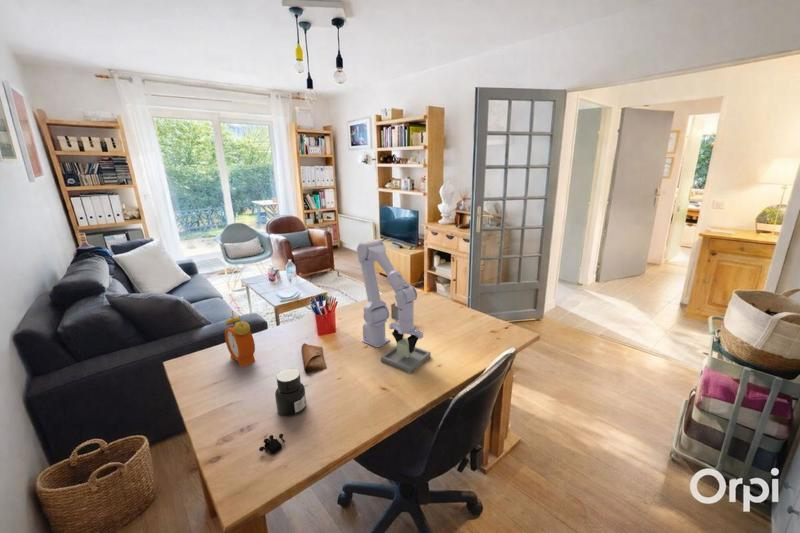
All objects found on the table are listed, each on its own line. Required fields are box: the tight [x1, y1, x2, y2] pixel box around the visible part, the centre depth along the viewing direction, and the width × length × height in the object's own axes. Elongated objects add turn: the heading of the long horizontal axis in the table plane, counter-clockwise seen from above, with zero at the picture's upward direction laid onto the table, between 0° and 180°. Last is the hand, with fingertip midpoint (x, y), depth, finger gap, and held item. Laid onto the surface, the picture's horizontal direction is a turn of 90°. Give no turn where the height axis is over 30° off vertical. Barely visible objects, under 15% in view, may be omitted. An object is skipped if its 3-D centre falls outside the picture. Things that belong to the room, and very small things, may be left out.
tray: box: [380, 345, 431, 374], centre depth 135 cm, size 14×14×2 cm
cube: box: [396, 336, 415, 358], centre depth 133 cm, size 5×5×5 cm
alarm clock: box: [224, 310, 256, 368], centre depth 132 cm, size 13×6×20 cm, turn 47°
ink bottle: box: [274, 368, 307, 418], centre depth 107 cm, size 10×9×12 cm
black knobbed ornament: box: [258, 433, 286, 455], centre depth 93 cm, size 7×2×5 cm
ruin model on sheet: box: [390, 302, 398, 321], centre depth 167 cm, size 11×3×10 cm, turn 44°
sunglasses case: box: [301, 342, 328, 374], centre depth 135 cm, size 18×7×7 cm, turn 20°
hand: (405, 349), depth 134 cm, fingers closed on cube, 5 cm apart
